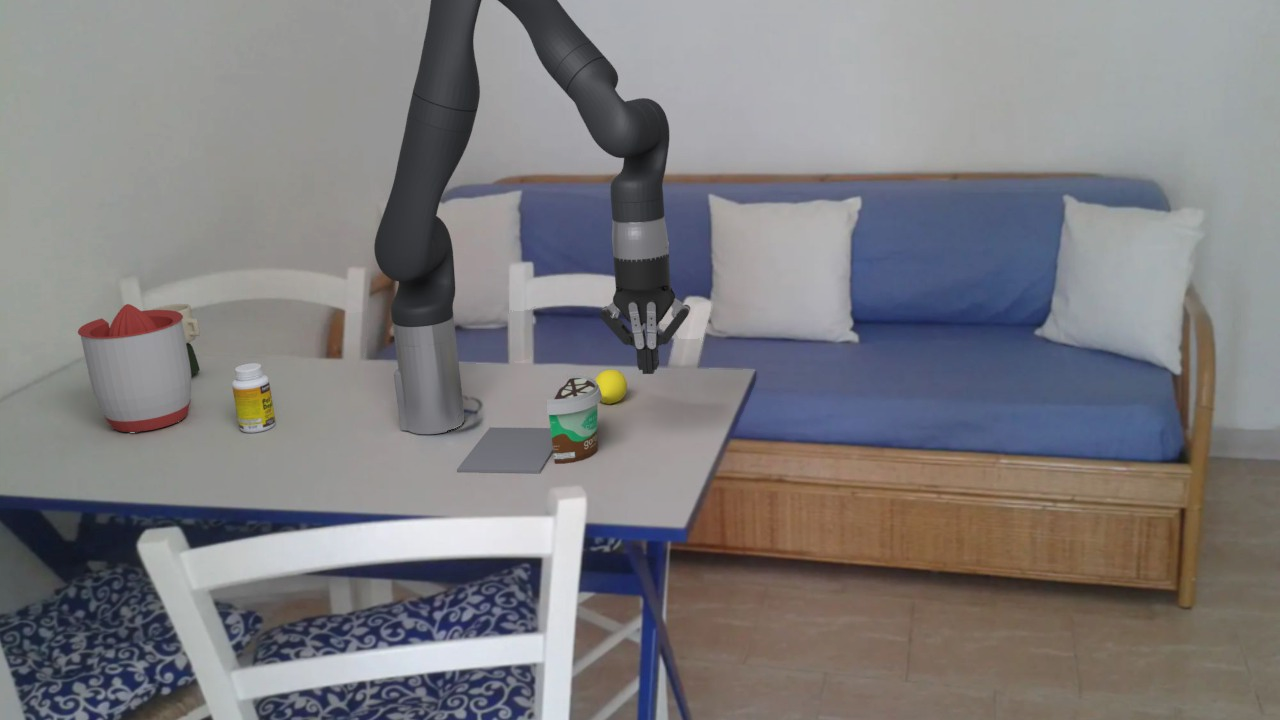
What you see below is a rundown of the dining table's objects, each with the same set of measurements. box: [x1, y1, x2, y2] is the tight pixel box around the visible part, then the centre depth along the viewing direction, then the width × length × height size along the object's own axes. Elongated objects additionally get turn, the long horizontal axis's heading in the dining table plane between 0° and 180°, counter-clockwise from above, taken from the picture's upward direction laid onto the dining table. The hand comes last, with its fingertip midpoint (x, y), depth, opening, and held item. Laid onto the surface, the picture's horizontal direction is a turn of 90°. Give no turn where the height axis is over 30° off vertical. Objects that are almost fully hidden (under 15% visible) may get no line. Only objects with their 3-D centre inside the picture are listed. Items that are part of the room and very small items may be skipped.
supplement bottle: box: [231, 362, 276, 434], centre depth 180 cm, size 6×6×10 cm
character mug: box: [151, 303, 201, 377], centre depth 208 cm, size 11×7×13 cm, turn 74°
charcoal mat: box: [456, 426, 554, 474], centre depth 166 cm, size 12×16×1 cm
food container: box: [546, 372, 602, 465], centre depth 163 cm, size 12×6×10 cm, turn 168°
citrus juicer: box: [77, 303, 192, 433], centre depth 185 cm, size 16×17×20 cm
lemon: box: [594, 369, 628, 405], centre depth 183 cm, size 7×5×5 cm
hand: (649, 372), depth 159 cm, fingers closed
